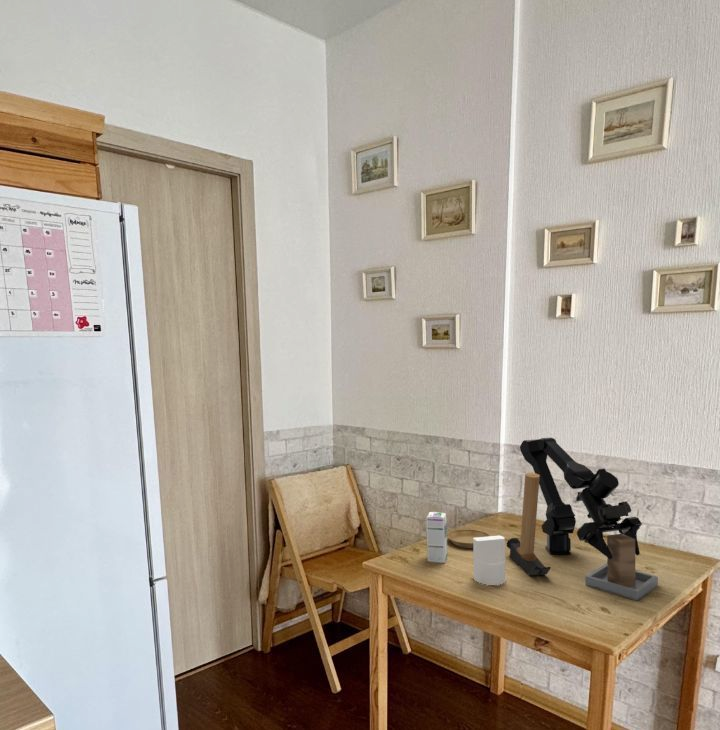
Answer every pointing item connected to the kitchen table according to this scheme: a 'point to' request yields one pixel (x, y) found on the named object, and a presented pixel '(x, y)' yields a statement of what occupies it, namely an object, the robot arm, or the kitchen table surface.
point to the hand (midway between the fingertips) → (625, 556)
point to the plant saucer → (465, 537)
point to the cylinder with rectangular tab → (489, 560)
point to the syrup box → (436, 537)
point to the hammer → (528, 530)
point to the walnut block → (621, 560)
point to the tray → (637, 592)
